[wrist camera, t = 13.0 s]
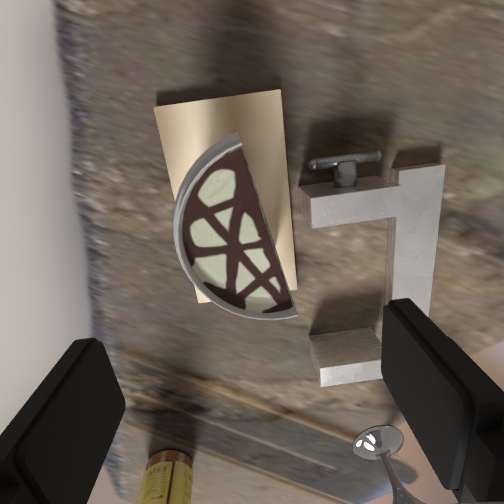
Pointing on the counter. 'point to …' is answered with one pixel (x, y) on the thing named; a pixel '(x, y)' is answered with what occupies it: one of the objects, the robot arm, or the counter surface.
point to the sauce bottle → (167, 479)
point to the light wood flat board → (255, 148)
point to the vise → (398, 250)
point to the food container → (229, 236)
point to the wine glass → (384, 456)
